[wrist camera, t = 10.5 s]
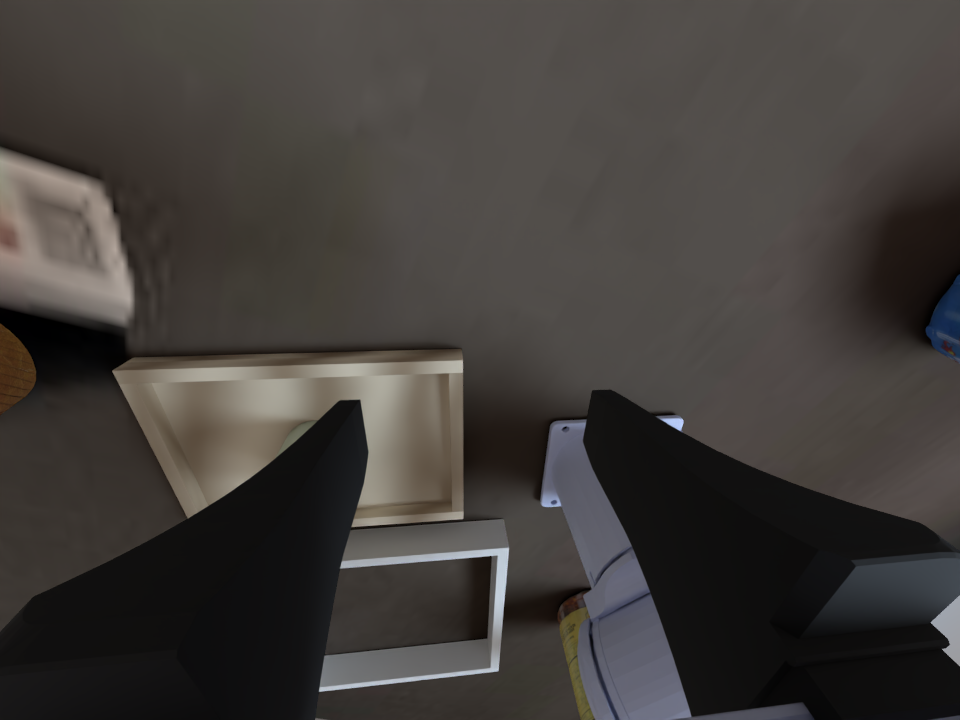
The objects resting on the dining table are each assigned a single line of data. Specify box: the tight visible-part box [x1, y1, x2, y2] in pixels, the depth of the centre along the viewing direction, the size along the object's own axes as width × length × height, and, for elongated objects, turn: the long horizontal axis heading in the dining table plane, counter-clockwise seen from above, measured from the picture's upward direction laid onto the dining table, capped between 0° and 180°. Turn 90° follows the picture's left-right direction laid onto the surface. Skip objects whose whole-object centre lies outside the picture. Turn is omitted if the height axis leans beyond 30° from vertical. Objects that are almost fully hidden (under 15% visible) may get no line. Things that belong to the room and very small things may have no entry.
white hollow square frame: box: [319, 519, 509, 692], centre depth 31 cm, size 19×19×2 cm
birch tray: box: [112, 349, 463, 527], centre depth 23 cm, size 18×13×2 cm
